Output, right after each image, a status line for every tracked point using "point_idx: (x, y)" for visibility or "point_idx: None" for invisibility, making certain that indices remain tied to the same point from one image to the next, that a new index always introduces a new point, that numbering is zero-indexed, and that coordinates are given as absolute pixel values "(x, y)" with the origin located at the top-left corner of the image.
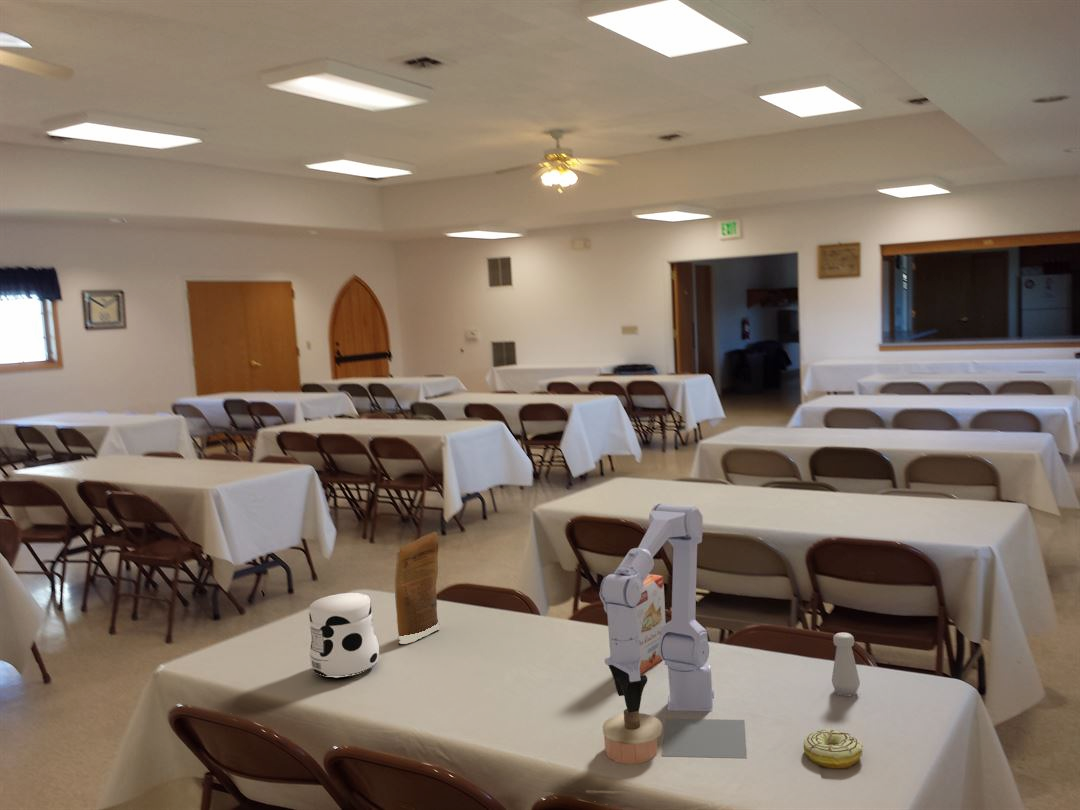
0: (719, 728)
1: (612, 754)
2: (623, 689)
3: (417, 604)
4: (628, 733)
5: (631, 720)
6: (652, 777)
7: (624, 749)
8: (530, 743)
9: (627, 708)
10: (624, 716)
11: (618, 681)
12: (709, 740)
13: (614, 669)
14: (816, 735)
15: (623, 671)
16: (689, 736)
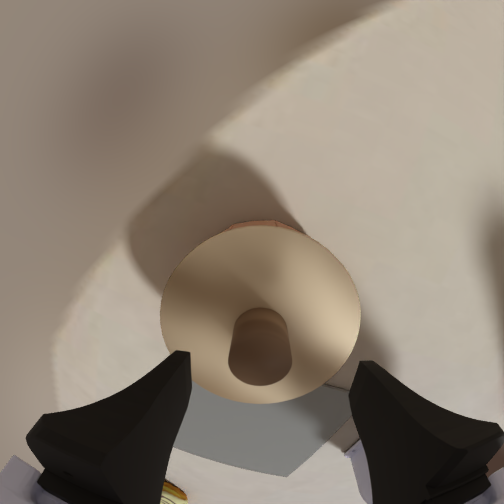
0: (276, 452)
1: (226, 230)
2: (74, 409)
3: None
4: (210, 303)
5: (231, 340)
6: (130, 290)
7: None
8: (403, 66)
9: (168, 356)
10: (257, 328)
11: (47, 432)
12: (239, 432)
13: (419, 450)
14: (163, 502)
15: (390, 467)
16: (271, 414)
